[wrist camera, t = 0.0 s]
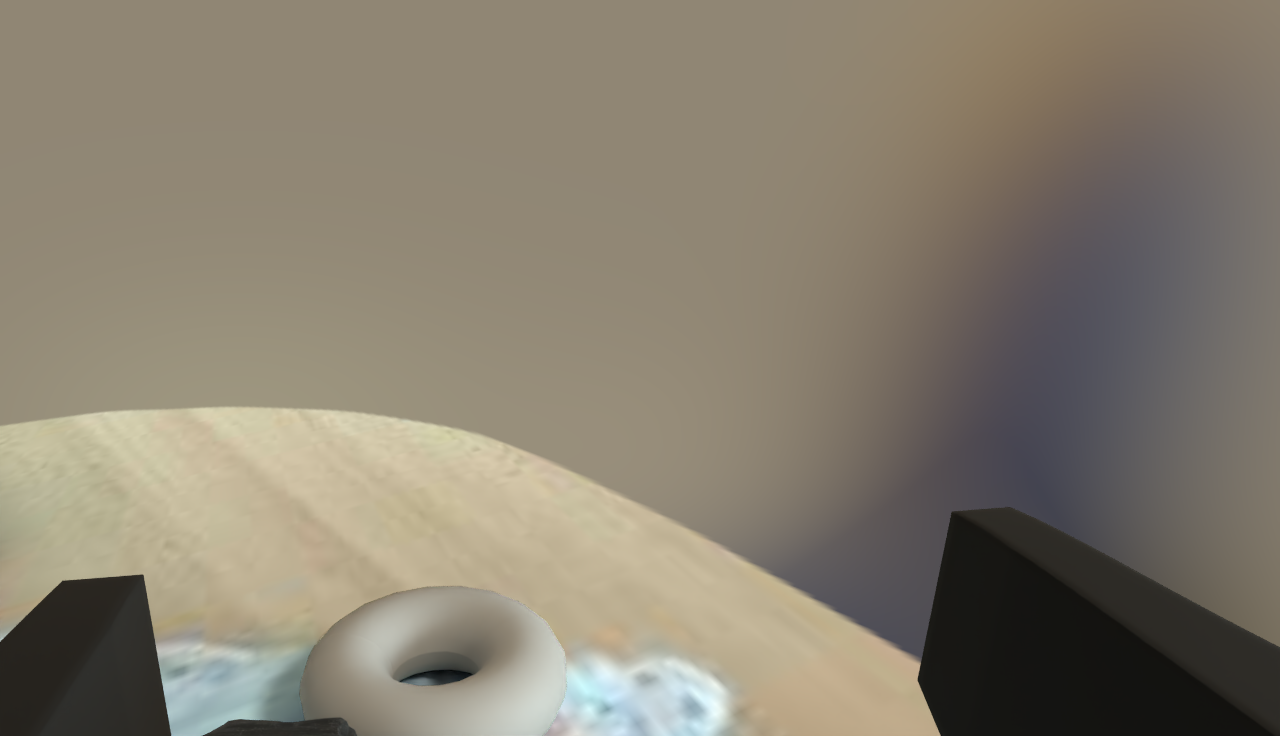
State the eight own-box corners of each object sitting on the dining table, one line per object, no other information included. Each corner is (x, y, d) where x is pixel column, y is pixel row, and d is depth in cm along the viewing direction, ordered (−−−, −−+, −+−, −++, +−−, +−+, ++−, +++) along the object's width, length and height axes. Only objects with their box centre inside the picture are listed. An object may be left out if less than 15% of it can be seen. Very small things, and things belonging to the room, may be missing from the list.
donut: (590, 787, 39) (544, 625, 48) (593, 707, 38) (545, 557, 47) (297, 830, 36) (306, 651, 45) (289, 747, 35) (300, 580, 44)
